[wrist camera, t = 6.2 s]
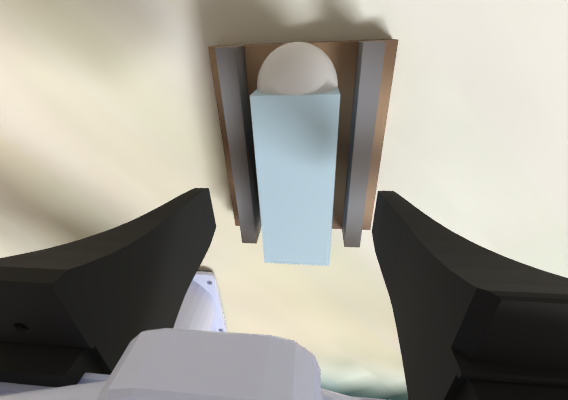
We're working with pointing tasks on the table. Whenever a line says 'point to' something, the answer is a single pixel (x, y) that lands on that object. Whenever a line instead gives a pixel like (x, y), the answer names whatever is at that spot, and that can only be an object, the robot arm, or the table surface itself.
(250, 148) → the cradle
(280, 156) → the dome-topped blue pillar
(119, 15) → the table surface
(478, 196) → the table surface
